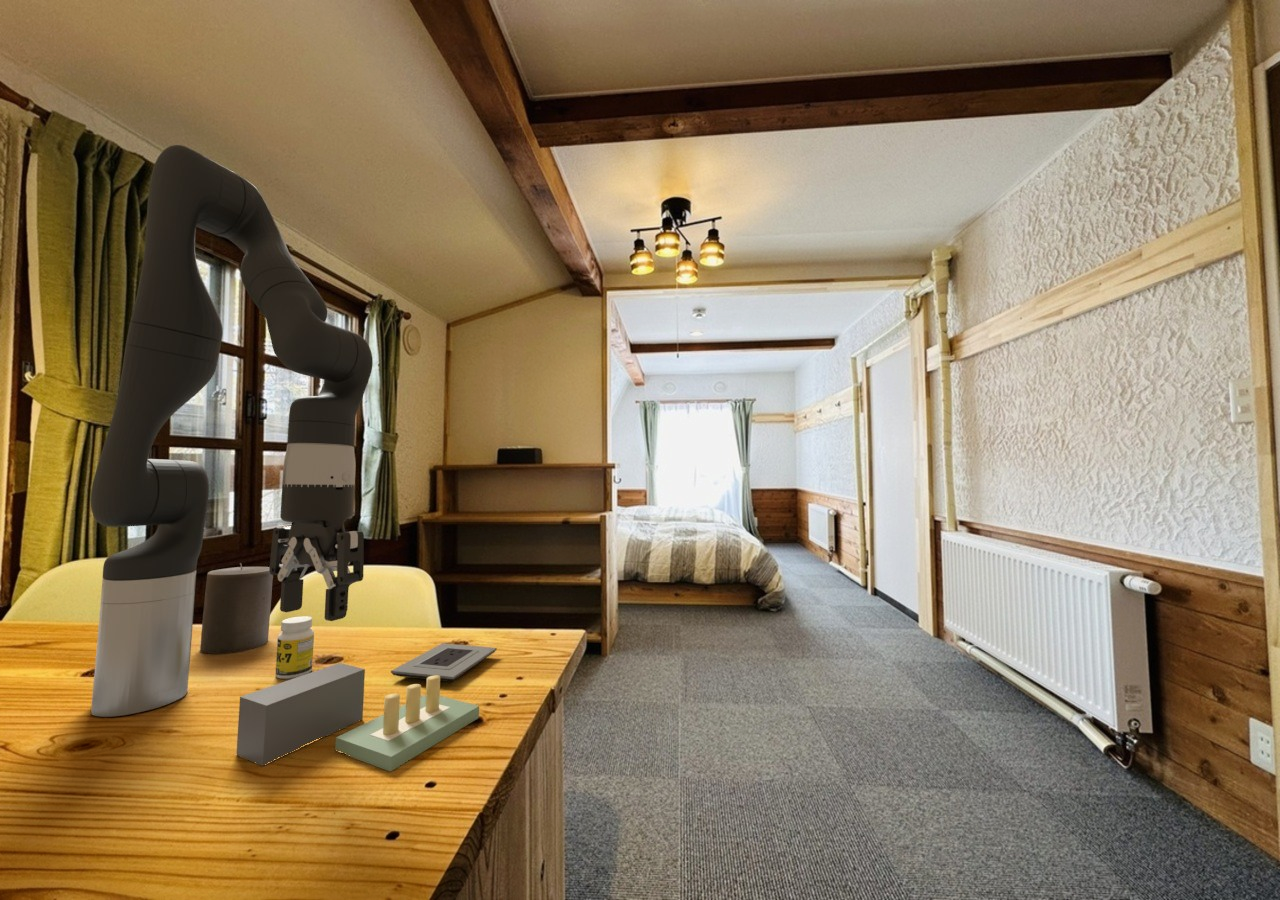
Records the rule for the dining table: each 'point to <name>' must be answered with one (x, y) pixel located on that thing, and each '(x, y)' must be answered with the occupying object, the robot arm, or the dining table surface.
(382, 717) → the header board
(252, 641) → the pillar candle
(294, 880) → the dining table surface
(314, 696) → the block
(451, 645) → the electrical outlet
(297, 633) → the supplement bottle
